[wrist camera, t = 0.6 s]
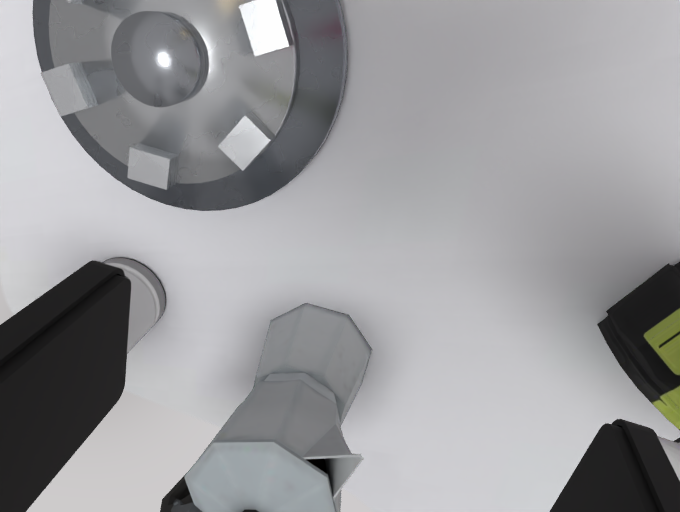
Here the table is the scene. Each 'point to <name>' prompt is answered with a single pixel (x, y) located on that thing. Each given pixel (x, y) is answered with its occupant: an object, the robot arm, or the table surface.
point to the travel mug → (141, 298)
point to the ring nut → (176, 81)
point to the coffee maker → (285, 424)
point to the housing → (287, 149)
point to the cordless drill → (651, 345)
